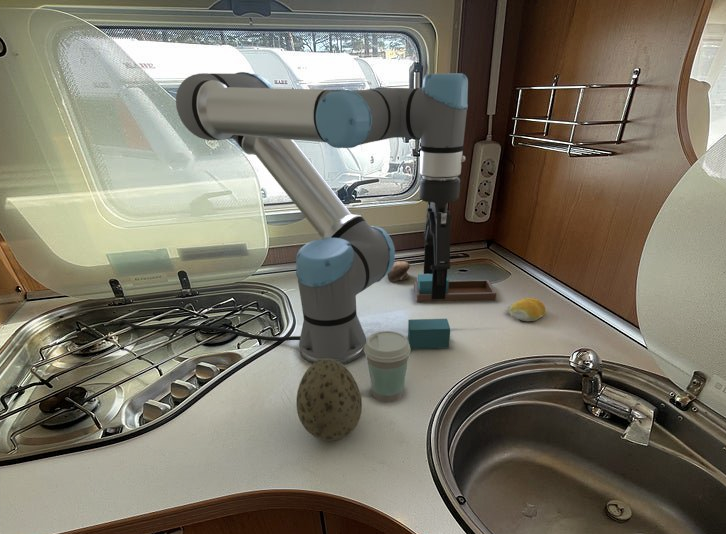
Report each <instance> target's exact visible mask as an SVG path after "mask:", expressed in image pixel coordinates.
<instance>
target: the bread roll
mask: <svg viewBox="0 0 726 534" xmlns="http://www.w3.org/2000/svg"><path fill="white" fill-rule="evenodd" d="M508 312H509V314H510V316H511V317H513V318H515V319H517V320H519V321H522V322H535V321H538V320H539V319H540V318H542V317H543V316H545V314H546V312H547V309H546V306H545V304H544V303H543V302H542V301H541V300H539V299H537V298H533V297H526V298H521V299H519V300H517V301H515V302H514V303H512V304H511V305H510V307H509V309H508Z"/></svg>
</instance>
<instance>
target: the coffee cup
mask: <svg viewBox="0 0 726 534" xmlns="http://www.w3.org/2000/svg"><path fill="white" fill-rule="evenodd" d="M411 350H412V349H410V344H409V341H408V337H406V336H405V335H404V334H403V333H401V332H398V331H393V330H381V331H376V332H374V333H372V334H370V335H369V336H368V337H367V338H366V344H365V346H364V353H363V354H364V355H365V357H366V363H367V367H368V374H369V378H370V385H371V391H372V395H373V398H374V399H375V400H377V401H379V402H382V403H395V402H397V401H399V400H401V398H402V397H403V394H404V387H405V380H406V374H407V368H408V362H409V355H410V354H411Z"/></svg>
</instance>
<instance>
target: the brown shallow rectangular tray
mask: <svg viewBox="0 0 726 534" xmlns="http://www.w3.org/2000/svg"><path fill="white" fill-rule="evenodd" d="M413 290H414V291H413V292H414V295H415V300H416V303H443V302H444V303H445V302H446V303H447V302H483V301H484V302H486V301H487V302H489V301H496V298H497V292H496V289H494V287H493V284H492V283H491V282H490V280H489V279H462V280H461V279H459V280H456V279H455V280H449V286H448V293H445V299H438V300H432V299H431V294H420V293H419V289H418V280H417V281H416V280H415V281H413Z"/></svg>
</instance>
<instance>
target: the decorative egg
mask: <svg viewBox="0 0 726 534" xmlns="http://www.w3.org/2000/svg"><path fill="white" fill-rule="evenodd" d="M361 394H362V393H361V391H360V387H359V385H358V383H357V381H356V379H355V378H354V376H353V374H352V373H351V371H350V370H349V369H348V368H347V367H346V366H345V365H344V364H341V363H339V362H338V361H336V360H333V359H329V358H325V359H321V360H318V361H316V362H315V363H312V364H311V365H310V366H309V367H308V369H307V370H306V371H305V373H304V374H303V376H302V377H301V380H300V382H299V385H298V388H297V393H296V402H295V403H296V413H297V416H298V419H299V422H300V423H301V425H302V427H303V428H304V429H305V431H306V432H307V433H309V434H310V435H311V436H313V437H314V438H316V439H318V440H322V441H326V442H327V441H328V442H335V441H338V440H341V439H343V438H345V437H348V435H350V434H351V433H352V432H353V431H354V429H355V428H356V427H357V426H358V424H359V422H360V419H361V415H362V410H363V408H362V407H363V402H362V401H363V400H362V395H361Z"/></svg>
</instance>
